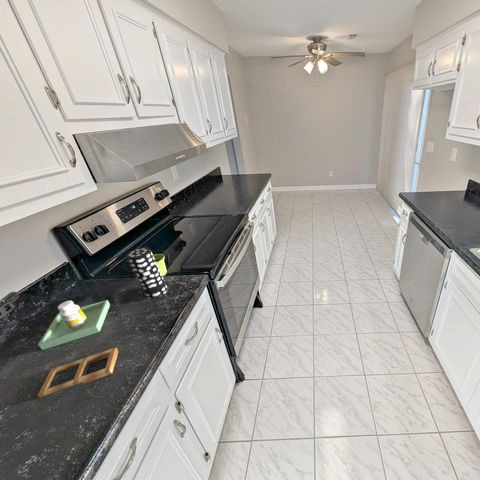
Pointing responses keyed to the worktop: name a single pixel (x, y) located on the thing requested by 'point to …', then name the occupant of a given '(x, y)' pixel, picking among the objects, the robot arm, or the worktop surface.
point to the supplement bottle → (72, 315)
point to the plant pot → (160, 263)
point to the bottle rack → (81, 371)
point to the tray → (63, 333)
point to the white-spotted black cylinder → (147, 272)
